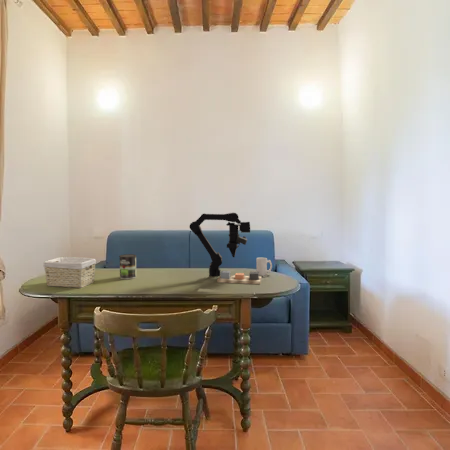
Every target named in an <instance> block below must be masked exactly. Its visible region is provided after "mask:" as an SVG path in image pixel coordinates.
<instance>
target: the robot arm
mask: <svg viewBox="0 0 450 450" xmlns="http://www.w3.org/2000/svg"><path fill="white" fill-rule="evenodd" d="M204 221H225V222H227V223H226V226H229V227H228V229H229V230H228V232H229V233H228V238H229V240H228V243H227V244H226V248H228V249H229V251H230V254H231V256H232V258H235V257H236V253H237V249H238V248H239V246H240V245H241V244H242V245H244V246H246V244H247V242H248V238H247V236H245V235H244V236H240V234H239V232H240V233H244V234H246V233H249V234H250V233H251V223H250V221H241V220H240V219H239V215H238V214H237V213H236V212H229V213H221V214H220V213H218V214H217V213H202V214H201V216H199V217H198V218H197V219H196V220H195V221H194V220H193V221H192V222H191V223H190V224H189V229H190V231H192V233H193V234H194V235H195V236H196V237H197V238H198V239H199V241H200V242H201V244H202V245H203V247H204V249H205V250H206V251H207V253H208V255H209V256H210V259H211V262H210V263H209V268H208V275H209V277H220V275H221V272H222V270H221V267H220V266H221V265H222V264H223V256H222V255H221V253H220V252H219V251H218V252H216V250H215V249H214V248H213V246H212V244H211V243H210V242H209V240H208V238H207V237H206V236H205V234H204V232H203V230H202V227H201V224H203V223H204Z"/></svg>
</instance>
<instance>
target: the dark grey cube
mask: <svg viewBox="0 0 450 450" xmlns="http://www.w3.org/2000/svg"><path fill="white" fill-rule="evenodd" d="M249 276H250V279H249V280H259V272H257V271H250V272H249Z"/></svg>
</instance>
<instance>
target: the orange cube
mask: <svg viewBox="0 0 450 450" xmlns="http://www.w3.org/2000/svg"><path fill="white" fill-rule="evenodd" d="M234 275H235V279H244V276H245V273H244V272H236V273H235V274H234Z"/></svg>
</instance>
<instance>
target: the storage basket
mask: <svg viewBox="0 0 450 450" xmlns="http://www.w3.org/2000/svg"><path fill="white" fill-rule="evenodd" d="M96 263H97V260H96V258H91V257H74V256H63V257H62V256H60V257H55V258H52V259H49V260H45V261H44V262H43V268H44V272H45V273H44V274H45V279H46V280H45V281H46V285H47V286H48V287H59V288H60V287H64V288H81V289H82V288H84V287H86V286H89V285H91V284H93V283H94V282H95V276H96Z"/></svg>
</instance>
